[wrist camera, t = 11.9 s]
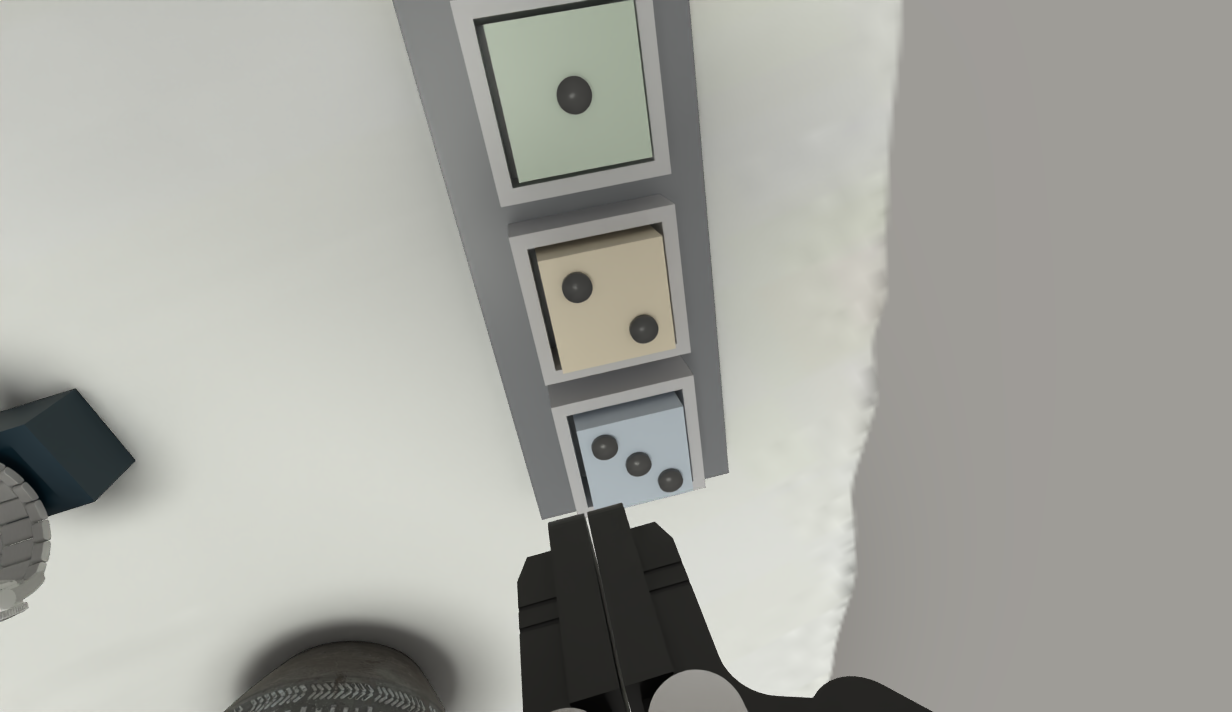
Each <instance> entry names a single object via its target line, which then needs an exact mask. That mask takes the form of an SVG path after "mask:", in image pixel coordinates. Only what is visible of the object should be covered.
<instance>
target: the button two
mask: <svg viewBox="0 0 1232 712" xmlns="http://www.w3.org/2000/svg"><path fill="white" fill-rule="evenodd" d="M535 252H536V257H537V262H538V266H539V271H540V275H541V279H542V284H543V288H544V293H545V297H546V301H547V306H548V310H549V314H550V319H551V323H552V327H553V332H554V336H555V340H556V345H557V349H558V354H559V358H560V362H561V367H562V371H563V374H565V373H570V372H574V371H578V370H583V369H587V368H592V367H596V366H600V365H605V364H609V363H614V362H618V361H622V360H627V359H631V358H636V357H640V356H644V355H649V354H653V353H658V352H662V351H666V350H671V349H675V348H676V345H675V337H674V328H673V320H672V312H671V304H670V296H669V287H668V279H667V271H666V263H665V255H664V247H663V238H662V235H661V234H659V233H658V232H657V231H656V230H655V229H654V228H653V227H652V226H651V225H650V224H649V225H644V226H639V227H634V228H629V229H625V230H620V231H615V232H610V233H605V234H600V235H595V236H590V237H585V238H581V239H576V240H571V241H566V242H561V243H556V244H551V245H546V246H542V247H537V248H535Z"/></svg>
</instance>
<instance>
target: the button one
mask: <svg viewBox="0 0 1232 712" xmlns="http://www.w3.org/2000/svg"><path fill="white" fill-rule="evenodd" d="M483 27H484V31H485V36H486V40H487V44H488V49H489V53H490V57H491V62H492V66H493V70H494V75H495V79H496V83H497V88H498V92H499V97H500V101H501V105H502V110H503V114H504V118H505V123H506V127H507V131H508V136H509V140H510V144H511V149H512V153H513V158H514V162H515V166H516V171H517V175H518V179H519V183H521V182H526V181H531V180H536V179H541V178H547V177H552V176H557V175H562V174H567V173H572V172H578V171H583V170H588V169H593V168H598V167H603V166H609V165H614V164H619V163H624V162H629V161H634V160H640V159H645V158H650V157H652V148H651V140H650V132H649V124H648V116H647V108H646V99H645V91H644V83H643V75H642V67H641V58H640V50H639V42H638V34H637V26H636V18H635V9H634V1H633V0H628V1H622V2H616V3H610V4H604V5H598V6H592V7H586V8H580V9H574V10H568V11H562V12H556V13H550V14H544V15H538V16H532V17H526V18H520V19H514V20H508V21H502V22H496V23H490V24H484V25H483Z"/></svg>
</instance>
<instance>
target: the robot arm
mask: <svg viewBox="0 0 1232 712" xmlns="http://www.w3.org/2000/svg"><path fill="white" fill-rule="evenodd" d="M587 515H588V520H589V524H590V529H591V534H592V538H593V543H594V548H595V552H596V556H595V552H594V548H593V544H592V541H591V537H590V533H589V529H588V526H587V522H586V518H585V515H584V513H582V514H578V515H575V516H571V517H567V518H564V519H560V520H556V521H553V522H549V523H548V530H549V539H550V547H551V551H548V552H545V553H541V554H538V555H534V556H530V557H527V559H526V561H525V564H524V566H523V569H522V571H521V574H520V576H519V579H518V581H517V588H518V608H519V629H520V654H521V676H522V697H523V712H630V709H631V712H932V711H930V710H928V709H927V708H925V707H923V706H921V705H919V704H917V703H915V702H914V701H912V700H910V699H908V698H906V697H904V696H903V695H901V694H899V693H897V692H895V691H893V690H891V689H890V688H888V687H886V686H884V685H882V684H880V683H878V682H875V681H873V680H870V679H866V678H862V677H856V676H854V677H853V676H847V677H841V678H836V679H834V680H831V681H829V682H828V683H826V684H824V685H823V686H822V687H821V688H820V689H819V690H818V691H817V693H816V694H815V696H814V697H813V698H804V697H784V696H772V695H766V694H762V693H759V692H756V691H754V690H752V689H749V688H748V687H746V686H744V685H743V684H741V683H740V682H738V681H737V680H736V679H735V678H734V677H733V676H732V675H731V674H730V673H729V672H728V671H727V669H726V668H725V667H724V665H723V664H722V662H721V660H720V657H719V655H718V653H717V650H716V648H715V645H714V642H713V640H712V637H711V635H710V632H709V630H708V627H707V625H706V622H705V619H704V617H703V614H702V612H701V609H700V607H699V604H698V602H697V599H696V596H695V594H694V591H693V589H692V586H691V584H690V582H689V578H688V576H687V573H686V571H685V568H684V566H683V564H682V561H681V558H680V555H679V553H678V550H677V548H676V545H675V543H674V540H673V538H672V537H671V536H670V535H669V534H668V533H667V532H665V531H664V530H663V529H662V528H661V527H660V526H659V525H658V524H657V523H656V522H652V523H649V524H645V525H642V526H638V527H634V528H631V529H630V526H629V523H628V520H627V516H626V513H625V510H624V507H623V504H622V503H618V504H614V505H611V506H607V507H603V508H600V509H596V510H592V511H589V512H587ZM596 557H597V559H596ZM597 562H598V563H597ZM598 566H599V567H598ZM628 702H629V703H628ZM629 705H630V707H629Z"/></svg>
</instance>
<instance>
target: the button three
mask: <svg viewBox="0 0 1232 712" xmlns="http://www.w3.org/2000/svg"><path fill="white" fill-rule="evenodd" d="M573 418H574V423H575V427H576V432H577V436H578V441H579V445H580V449H581V454H582V458H583V462H584V467H585V471H586V475H587V480H588V484H589V489H590V493H591V497H592V502H593V506H594V510H596V509H600V508H603V507H607V506H611V505H614V504H618V503H622V504H623V507H624V508H626V507H630V506H634V505H638V504H642V503H646V502H650V501H654V500H658V499H662V498H666V497H670V496H673V495H677V494H681V493H685V492H689V491H693V484H692V476H691V467H690V459H689V451H688V443H687V435H686V426H685V418H684V410H683V405H682V404H681V402H680V400H679V398H678V397H677V395H676V393H675V391H672V392H667V393H663V394H659V395H655V396H650V397H646V398H642V399H637V400H633V401H629V402H625V403H620V404H616V405H612V406H608V407H603V408H599V409H595V410H591V411H586V412H582V413H578V414H573Z"/></svg>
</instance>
